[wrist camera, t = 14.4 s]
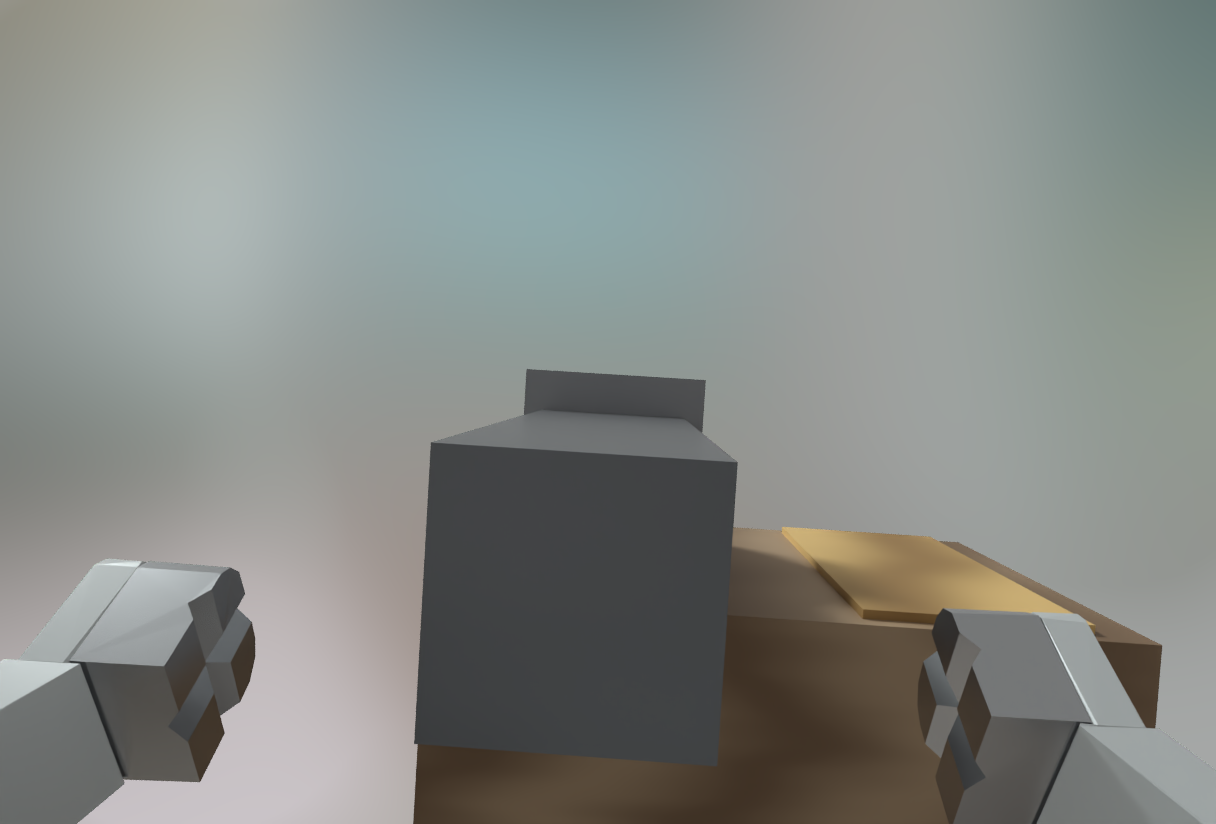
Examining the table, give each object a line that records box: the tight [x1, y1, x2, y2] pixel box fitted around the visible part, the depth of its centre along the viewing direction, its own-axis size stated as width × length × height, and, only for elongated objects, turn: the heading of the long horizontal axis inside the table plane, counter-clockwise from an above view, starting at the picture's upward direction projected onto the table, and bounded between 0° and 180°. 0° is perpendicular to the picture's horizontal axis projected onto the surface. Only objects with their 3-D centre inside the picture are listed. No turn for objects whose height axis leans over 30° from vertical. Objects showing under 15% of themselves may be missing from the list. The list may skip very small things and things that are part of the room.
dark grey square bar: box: [414, 369, 737, 766], centre depth 20 cm, size 5×18×5 cm, turn 178°
